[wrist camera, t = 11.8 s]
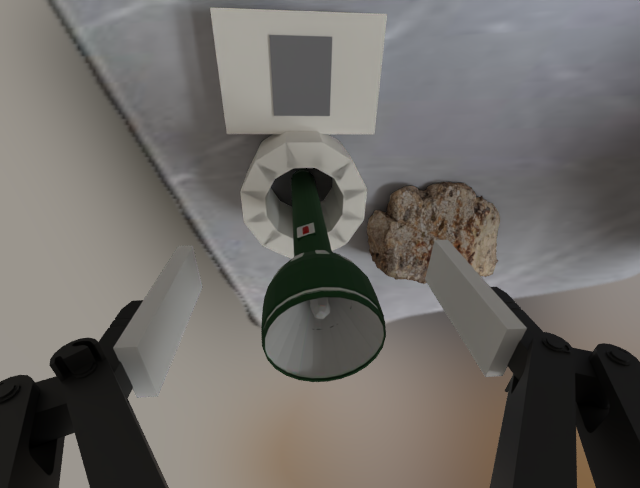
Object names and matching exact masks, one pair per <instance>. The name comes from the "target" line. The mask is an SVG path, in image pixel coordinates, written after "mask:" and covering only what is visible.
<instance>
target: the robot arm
mask: <svg viewBox="0 0 640 488" xmlns="http://www.w3.org/2000/svg"><path fill="white" fill-rule="evenodd" d="M425 280H426V282H427V284H428V285H429V287H430V288H431V290H432V292H433V293H434V295H435V296H436V298H437V300H438V301H439V303H440V305H441V306H442V308H443V309H444V311H445V313H446V314H447V316H448V317H449V319H450V321H451V322H452V324H453V325H454V327H455V329H456V330H457V332H458V333H459V335H460V337H461V338H462V340H463V341H464V343H465V345H466V346H467V348H468V349H469V351H470V353H471V354H472V356H473V358H474V359H475V361H476V363H477V364H478V366H479V367H480V369H481V370H482V372H483V374H484V375H485V377H490V376H503V374H504V372H505V370H506V368H507V366H508V367H509V368H510V370H511V371H512V372H513V376H512V378H511V380H510V382H509V384H508V385H507V387H506V389H505V391H506V392H508V396H507V401H506V406H505V411H504V417H503V422H502V427H501V432H500V437H499V443H498V448H497V453H496V459H495V463H494V469H493V474H492V479H491V484H490V488H577V471H576V470H577V466H576V427H577V430H578V433H579V436H580V439H581V443H582V446H583V449H584V452H585V455H586V458H587V461H588V464H589V467H590V470H591V473H592V476H593V480H594V483H595V486H596V488H640V362H639V361H638V359H637V358H636V357H634V356H633V355H632V354H631V353H629V352H628V351H626V350H624V349H621V348H620V347H617V346H614V345H611V344H598V345H597V347H596V348H595V349H594V351H593V352H591V351H586V350H581V349H576V348H572V347H571V346H570V344H569V343H568V342H566V341H565V340H564V339H562V338H560V337H558V336H556V335H554V334H551V333H547V332H543V331H542V330H541V329H540V328H539V327H538V326H537V325H536V324H535V323H534V322H533V321H532V320H531V319H530V318H529V316H528V315H527V314H526V313H525V312H524V311H523V310H521V308H520V307H519V306H518V305H517V304H516V303H515V301H514V300H513V299H512V298H511V297H510V296H509V295H508V294H507V293H505V292H504V291H502V290H501V289H499V288H498V287H490V286H489V285H488V284H487V283H486V282H485V281H484V280H483V278H482V277H481V276H480V275H479V274H478V273H477V272H476V271H475V269H474V268H473V267H472V266H471V265H470V264H469V263H468V262H467V261H466V259H465V258H464V257H463V256H462V255H461V254H460V253H459V252H458V250H457V249H456V248H455V247H454V246H453V245H452V244H451V243H450V241H449V240H435V241H434V245H433V249H432V253H431V257H430V262H429V266H428V270H427V274H426V278H425ZM201 290H202V283H201V278H200V274H199V270H198V265H197V261H196V256H195V252H194V248H193V246H178V247H177V249H176V250H175V252H174V253H173V255H172V256H171V258H170V259H169V261H168V263H167V264H166V266H165V267H164V269H163V270H162V272H161V274H160V275H159V277H158V278H157V280H156V282H155V283H154V285H153V286H152V288H151V289H150V291H149V292H148V294H147V296H146V297H145V299H144V300H141V301H131V302H130V303H129V304H128V305H126V306H125V307H124V308H123V309H121V311H120V312H119V314H118V315H117V317H116V318H115V320H114V321H113V322H112V324H111V325H110V328H108V329H107V331H106V332H105V334H104V335H103V337H102V338H101V339H100V341H99V342H98V341H97V340H95V339H92V338H82V339H78V340H75V341H72V342H70V343H68V344H66V345H65V346H63V347H61V348H60V349H59V350H58V351H57V352H56V353H55V354H54V355H53V356H52V358H51V359H50V367H51V368H52V370H53V371H54V372H55V374H56V377H53V378H49V379H46V380H42V381H39V382H34V381H33V380H32V378H31V377H29V376H28V375H18V376H14V377H10V378H8V379H5V380H3V381H1V382H0V488H59V481H60V472H61V464H62V454H63V447H64V438H65V436H66V435H69V434H72V433H75V435H76V439H77V442H78V446H79V449H80V453H81V457H82V460H83V464H84V467H85V471H86V475H87V478H88V482H89V485H90V488H169V487H168V485H167V483H166V481H165V479H164V477H163V474H162V472H161V470H160V468H159V466H158V464H157V461H156V459H155V457H154V455H153V453H152V451H151V448H150V446H149V444H148V442H147V440H146V438H145V436H144V433H143V431H142V429H141V427H140V425H139V422H138V421H137V418H136V416H135V414H134V412H133V409H132V407H131V405H130V403H129V401H128V399H127V398H128V396H129V394H130V392H131V390H132V388H133V390H134V392H135V395H136V396H137V398H139V397H156V396H158V395H159V392H160V390H161V387H162V385H163V382H164V380H165V377H166V375H167V373H168V370H169V368H170V365H171V363H172V360H173V358H174V356H175V353H176V351H177V348H178V346H179V343H180V341H181V338H182V336H183V334H184V331H185V329H186V326H187V324H188V321H189V319H190V316H191V314H192V312H193V309H194V307H195V304H196V302H197V299H198V297H199V294H200V292H201Z"/></svg>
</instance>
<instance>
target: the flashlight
mask: <svg viewBox="0 0 640 488" xmlns="http://www.w3.org/2000/svg"><path fill="white" fill-rule="evenodd" d="M291 189H292V216H293V244H294V258H293V259H291V260H290V261H289V262H287V263H286V264H285V265H283V266H282V267H281V268H280V269H279V271H278V272H277V273H276V275H275V276H274V278H273V280H272V281H271V283H270V284H269V286H268V289H267V292H266V295H265V298H264V304H263V314H262V347H263V350H264V352H265V354H266V357H267V359H268V361H269V362H270V363H271V364H272V365H273V367H274V368H275V369H277V370H278V371H280V372H282V373H283V374H285V375H286V376H289V377H292V378H295V379H298V380H303V381H310V382H324V381H331V380H336V379H342V378H344V377H347V376H350V375H352V374H355V373H357V372H358V371H360V370H362V369H363V368H365V367H366V366H368V365H369V364H370V363H371V362H372V361H373V360H374V359H375V358H376V357H377V355H378V354H379V352H380V351H381V349H382V348H383V344H384V340H385V337H386V330H385V321H384V315H383V313H382V310H381V307H380V304H379V301H378V299H377V296H376V294H375V292H374V289H373V287H372V285H371V283H370V281H369V279H368V277H367V276H366V275H365V274H364V273H363V272H362V271H361V270H360V269H359V268H358V267H357V266H356V265H355V264H354V263H353V262H352V261H350V260H349V259H347V258H345V257H343V256H341V255H340V254H336V253H333V252H332V250H331V246H330V242H329V237H328V233H327V229H326V225H325V221H324V217H323V213H322V208H321V204H320V200H319V196H318V192H317V188H316V183H315V179H314V176H313V174H312V173H311V172H310V171H308V170H306V169H300V170H297V171H296V172H295V173H294V174H293V175H292V178H291Z"/></svg>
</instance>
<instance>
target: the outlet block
mask: <svg viewBox="0 0 640 488" xmlns="http://www.w3.org/2000/svg"><path fill="white" fill-rule="evenodd" d="M210 12H211V19H212V27H213V34H214V42H215V49H216V57H217V64H218V72H219V79H220V87H221V94H222V102H223V109H224V117H225V124H226V132H227V134H273V135H271V136H270V137H268V138H267V139H265V140H263V141H262V142H261V144H260V146H259V148H258V150H257V152H256V154H255V156H254V158H253V161H252V163H251V165H250V167H249V169H248V172H247V174H246V177H245V180H244V182H243V185H242V188H241V190H240V194H241V202H242V211H243V219H244V223H245V224H246V226H247V227H248V228H249V229H250V231H251V232H252V233H253V235H254V236H255V237H256V238H257V240H258V241H259V242H260V243H261V245H262V246H263V247H266V248H268V249H270V250H272V251H275V252H277V253H279V254H282V255H284V256H286V257H288V258H294V244H293V216H292V207H291V206H289V205H287V204H285V203H283V202H281V201H280V200H279V199H278V197H277V196H276V194H275V193H274V192H273V190H272V189H271V185H272V183H273V182H274V180H275V179H276V178H278V177H279V176H281V175H283V174H284V173H286V172H288V171H290V170H291V169H293V168H317V169H318V170H320V171H322V172H324V173H326V174H327V175H329V176H331V177H333V181H332V188H331V189H330V191H329V193H328V194H327V196H326V197H325V199H324V200H323V201H321V202H320V204H321V208H322V213H323V217H324V221H325V225H326V229H327V233H328V237H329V242H330V246H331V250H332V251H334V250H335V249H337V248H339V247H341V246H343V245H345V244H347V243H348V241H349V240H350V238H351V237H352V236H353V234H354V233H355V232H356V230H357V229H358V227H359V226H360V225H361V223H362V222H363V220H364V216H365V206H366V196H367V188H366V186H365V184H364V182H363V180H362V178H361V176H360V174H359V172H358V170H357V168H356V166H355V164H354V162H353V160H352V159H351V157H350V156H349V154H348V153H347V151H346V150H345V148H344V147H343V145H342V144H341V142H340V141H338V140H337V139H335V138H334V137H332V136H330V135H329V134H375V124H376V115H377V105H378V96H379V86H380V77H381V67H382V58H383V48H384V39H385V29H386V20H387V14H371V13H345V12H318V11H291V10H264V9H238V8H211V7H210Z"/></svg>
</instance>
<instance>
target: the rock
mask: <svg viewBox="0 0 640 488" xmlns="http://www.w3.org/2000/svg"><path fill="white" fill-rule="evenodd" d="M499 224H500V216H499V212H498V211H497V209H496V207H495V206H494V205H493V203H489V202H487V201H486V200H484V199H483V197H482V196H481V197H478V198H476V194H475V192H474V191H473V190H472V188H471V187H469V186H467V185H466V184H465V183H452V182H442V183H440V184H439V183H437V184H432V185H430V186H428V187H427V190H425V191H422V190H418V188H417V187H415V186H405V187H403V188H401V189H399V190H397V191H395V192H394V193H392V194H391V195H390V201H389V203H388V207H387V211H386V212H383V211H380V210H375V211H374V213H373V215H372V216H370V218H369V221H368V224H367V235H368V237H369V238H368V243H369V246H370V249H369V251H370V254H371V256H372V260H373V261H374V262H375V264H376V266H377V268H379V269H380V270H381V271H383V272H384V273H385V274H386V275H388V276H390V277H394V278H395V279H407V280H414V281H417V282H419V283H423V284H424V283H427V282H426V280H425V278H426V274H427V270H428V266H429V262H430V257H431V253H432V249H433V245H434V241H435V240H449V241H450V243H451V244H452V245H453V246H454V247H455V248H456V249H457V250H458V252H459V253H460V254H461V255H462V256H463V257H464V258H465V259H466V261H467V262H468V263H469V264H470V265H471V266H472V267H473V268H474V269H475V271H476V272H477V273H478V274H479V275H480V276H485V277H486V276H489V275H491V274H493V271H494V269H495V265H496V263H497V262H498V260H497V259H496V246H497V243H496V238H497V232H498V227H499Z"/></svg>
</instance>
